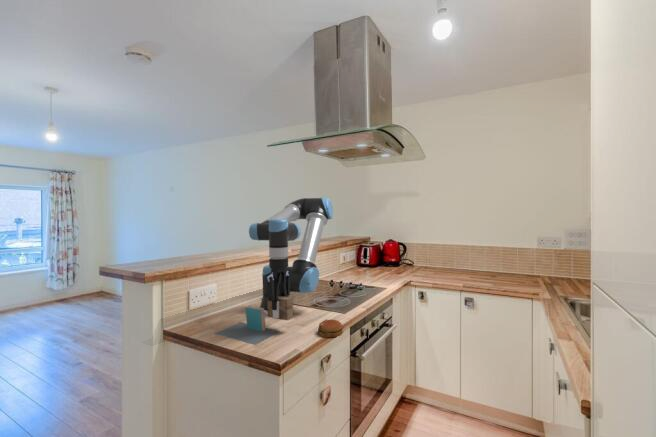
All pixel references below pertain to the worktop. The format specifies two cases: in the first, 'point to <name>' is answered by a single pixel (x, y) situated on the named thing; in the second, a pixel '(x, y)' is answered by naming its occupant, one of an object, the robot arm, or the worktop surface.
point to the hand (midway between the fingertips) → (279, 315)
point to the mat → (246, 333)
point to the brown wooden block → (281, 308)
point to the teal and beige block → (255, 318)
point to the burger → (330, 328)
